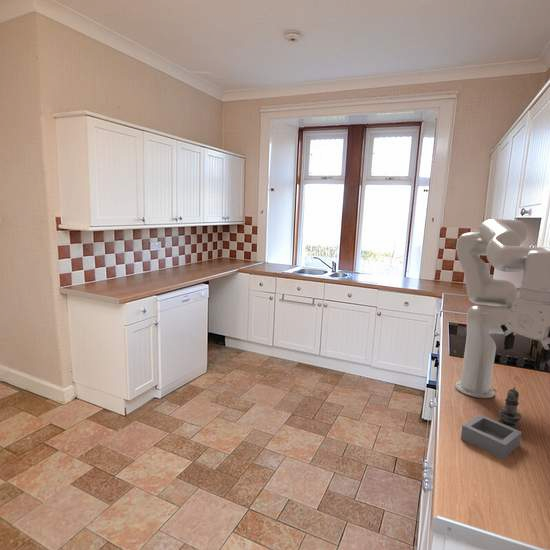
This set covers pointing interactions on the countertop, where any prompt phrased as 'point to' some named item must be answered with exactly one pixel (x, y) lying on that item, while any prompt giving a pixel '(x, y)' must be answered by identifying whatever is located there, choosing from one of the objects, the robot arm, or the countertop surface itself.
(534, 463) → the countertop surface
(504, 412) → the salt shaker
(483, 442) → the holder
